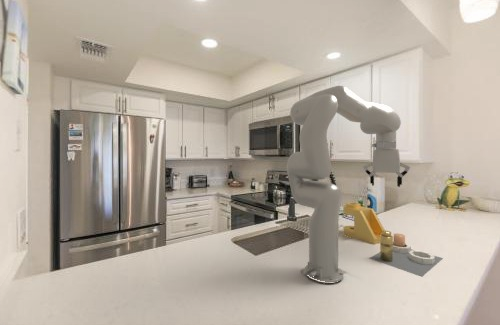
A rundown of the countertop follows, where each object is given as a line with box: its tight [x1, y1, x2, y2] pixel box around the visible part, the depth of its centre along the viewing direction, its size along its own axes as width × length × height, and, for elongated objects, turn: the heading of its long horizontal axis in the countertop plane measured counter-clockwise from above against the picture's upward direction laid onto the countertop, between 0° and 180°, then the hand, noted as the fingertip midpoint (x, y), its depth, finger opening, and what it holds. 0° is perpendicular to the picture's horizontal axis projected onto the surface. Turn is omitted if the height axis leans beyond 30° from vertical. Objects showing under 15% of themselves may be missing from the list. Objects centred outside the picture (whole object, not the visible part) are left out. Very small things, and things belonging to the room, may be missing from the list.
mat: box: [369, 248, 444, 277], centre depth 88 cm, size 22×17×1 cm
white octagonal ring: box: [409, 249, 436, 265], centre depth 86 cm, size 7×7×2 cm
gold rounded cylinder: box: [379, 230, 394, 262], centre depth 87 cm, size 4×4×10 cm
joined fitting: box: [393, 233, 412, 253], centre depth 96 cm, size 7×7×6 cm
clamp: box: [342, 201, 386, 245], centre depth 112 cm, size 20×9×16 cm, turn 25°
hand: (385, 185), depth 100 cm, fingers open, 9 cm apart
